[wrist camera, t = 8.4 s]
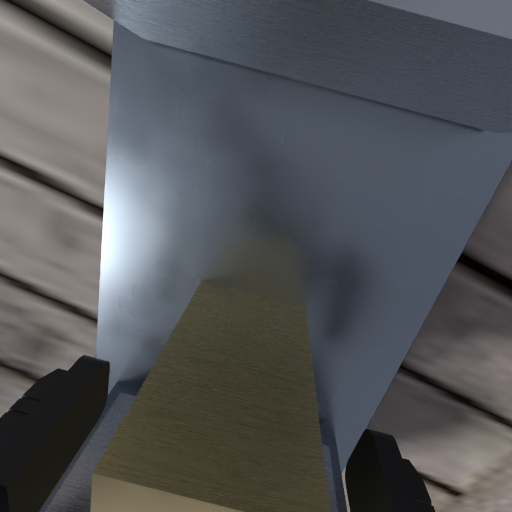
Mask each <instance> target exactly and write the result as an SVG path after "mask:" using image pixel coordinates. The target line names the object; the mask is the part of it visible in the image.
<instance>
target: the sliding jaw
mask: <svg viewBox="0 0 512 512" xmlns="http://www.w3.org/2000/svg"><path fill="white" fill-rule="evenodd" d="M84 1H85V2H87V3H88V4H90V5H91V6H93V7H95V8H96V9H98V10H99V11H101V12H102V13H104V14H105V15H107V16H109V17H110V18H112V19H113V20H115V21H116V22H118V23H119V24H121V25H123V26H124V27H126V28H127V29H129V30H130V31H132V32H133V33H135V34H137V35H138V36H140V37H141V38H143V39H146V40H149V41H153V42H157V43H161V44H164V45H168V46H172V47H176V48H179V49H183V50H187V51H191V52H194V53H198V54H202V55H206V56H209V57H213V58H217V59H221V60H224V61H228V62H232V63H236V64H239V65H243V66H247V67H251V68H254V69H258V70H262V71H266V72H269V73H273V74H277V75H281V76H284V77H288V78H292V79H296V80H299V81H303V82H307V83H311V84H314V85H318V86H322V87H326V88H329V89H333V90H337V91H341V92H344V93H348V94H352V95H355V96H359V97H363V98H367V99H370V100H374V101H378V102H382V103H385V104H389V105H393V106H397V107H400V108H404V109H408V110H412V111H415V112H419V113H423V114H427V115H430V116H434V117H438V118H442V119H445V120H449V121H453V122H457V123H460V124H464V125H468V126H472V127H475V128H479V129H483V130H487V131H490V132H494V133H512V0H84Z"/></svg>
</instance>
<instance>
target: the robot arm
mask: <svg viewBox="0 0 512 512" xmlns="http://www.w3.org/2000/svg"><path fill="white" fill-rule="evenodd" d="M109 373H110V362H109V361H106V360H102V359H98V358H94V357H90V356H86V355H83V356H82V357H80V358H79V359H78V360H77V361H76V362H75V364H74V365H73V366H72V367H71V368H70V369H69V370H68V371H66V370H62V369H56V370H55V371H53V372H51V373H49V374H48V375H46V376H44V377H42V378H41V379H39V380H38V381H37V382H36V383H35V384H34V385H33V386H32V387H31V388H30V389H29V390H28V391H27V392H26V393H25V394H24V395H23V396H22V398H21V399H19V400H18V401H17V402H16V403H15V404H14V405H13V406H12V407H11V408H10V409H9V411H8V412H7V413H5V414H4V415H3V416H2V417H1V418H0V512H39V511H40V509H41V508H42V506H43V505H44V503H45V501H46V500H47V498H48V497H49V495H50V494H51V492H52V491H53V489H54V488H55V486H56V485H57V483H58V481H59V480H60V478H61V477H62V475H63V474H64V472H65V471H66V469H67V468H68V466H69V465H70V463H71V461H72V460H73V458H74V457H75V455H76V454H77V452H78V451H79V449H80V448H81V446H82V445H83V443H84V441H85V440H86V438H87V437H88V435H89V434H90V432H91V431H92V429H93V428H94V426H95V425H96V423H97V421H98V420H99V418H100V416H101V415H102V413H103V410H104V408H105V405H106V402H107V398H108V386H109ZM345 482H346V488H347V494H348V500H349V506H350V512H435V509H434V507H433V506H432V505H431V499H430V497H429V494H428V491H427V489H426V486H425V484H424V481H423V479H422V478H421V476H420V475H419V474H418V472H417V471H416V469H415V468H414V466H413V465H412V464H411V462H410V461H409V460H407V459H403V458H402V457H401V454H400V451H399V448H398V445H397V443H396V440H395V439H394V437H393V436H392V435H388V434H384V433H381V432H377V431H373V430H369V429H366V430H364V432H363V433H362V435H361V437H360V439H359V441H358V442H357V444H356V446H355V448H354V450H353V452H352V453H351V455H350V457H349V459H348V461H347V465H346V471H345Z"/></svg>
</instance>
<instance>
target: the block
mask: <svg viewBox="0 0 512 512" xmlns="http://www.w3.org/2000/svg"><path fill="white" fill-rule="evenodd" d="M90 512H330V511H329V502H328V493H327V484H326V475H325V467H324V458H323V449H322V440H321V432H320V423H319V414H318V405H317V396H316V388H315V379H314V370H313V361H312V353H311V344H310V335H309V326H308V317H307V309H306V308H305V307H301V306H297V305H293V304H289V303H286V302H282V301H278V300H274V299H270V298H266V297H263V296H259V295H255V294H251V293H247V292H243V291H239V290H236V289H232V288H228V287H224V286H220V285H216V284H212V283H209V282H205V281H201V282H200V284H199V286H198V288H197V289H196V291H195V293H194V295H193V297H192V298H191V300H190V302H189V304H188V305H187V307H186V309H185V311H184V312H183V314H182V316H181V318H180V320H179V321H178V323H177V325H176V327H175V328H174V330H173V332H172V334H171V335H170V337H169V339H168V341H167V343H166V344H165V346H164V348H163V350H162V351H161V353H160V355H159V357H158V358H157V360H156V362H155V364H154V365H153V367H152V369H151V371H150V373H149V374H148V376H147V378H146V380H145V381H144V383H143V385H142V387H141V388H140V390H139V392H138V394H137V396H136V397H135V399H134V401H133V403H132V404H131V406H130V408H129V410H128V411H127V413H126V415H125V417H124V419H123V420H122V422H121V424H120V426H119V427H118V429H117V431H116V433H115V434H114V436H113V438H112V440H111V442H110V443H109V445H108V447H107V449H106V450H105V452H104V454H103V456H102V457H101V459H100V461H99V463H98V464H97V466H96V468H95V470H94V472H93V474H92V491H91V509H90Z"/></svg>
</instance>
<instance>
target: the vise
mask: <svg viewBox="0 0 512 512" xmlns="http://www.w3.org/2000/svg"><path fill="white" fill-rule="evenodd" d="M511 161H512V133H494V132H490V131H487V130H483V129H479V128H475V127H472V126H468V125H464V124H460V123H457V122H453V121H449V120H445V119H442V118H438V117H434V116H430V115H427V114H423V113H419V112H415V111H412V110H408V109H404V108H400V107H397V106H393V105H389V104H385V103H382V102H378V101H374V100H370V99H367V98H363V97H359V96H355V95H352V94H348V93H344V92H341V91H337V90H333V89H329V88H326V87H322V86H318V85H314V84H311V83H307V82H303V81H299V80H296V79H292V78H288V77H284V76H281V75H277V74H273V73H269V72H266V71H262V70H258V69H254V68H251V67H247V66H243V65H239V64H236V63H232V62H228V61H224V60H221V59H217V58H213V57H209V56H206V55H202V54H198V53H194V52H191V51H187V50H183V49H179V48H176V47H172V46H168V45H164V44H161V43H157V42H153V41H149V40H146V39H143V38H141V37H140V36H138V35H137V34H135V33H133V32H132V31H130V30H129V29H127V28H126V27H124V26H123V25H121V24H119V23H118V22H116V21H115V20H114V30H113V49H112V67H111V86H110V104H109V123H108V141H107V159H106V178H105V196H104V215H103V233H102V252H101V270H100V289H99V307H98V326H97V344H96V358H98V359H102V360H106V361H109V362H110V373H109V386H108V398H107V402H106V405H105V408H104V410H103V413H102V415H101V416H100V418H99V420H98V421H97V423H96V425H95V426H94V428H93V429H92V431H91V432H90V434H89V435H88V437H87V438H86V440H85V441H84V443H83V445H82V446H81V448H80V449H79V451H78V452H77V454H76V455H75V457H74V458H73V460H72V461H71V463H70V465H69V466H68V468H67V469H66V471H65V472H64V474H63V475H62V477H61V478H60V480H59V481H58V483H57V485H56V486H55V488H54V489H53V491H52V492H51V494H50V495H49V497H48V498H47V500H46V501H45V503H44V505H43V506H42V508H41V509H40V511H39V512H90V509H91V491H92V474H93V472H94V470H95V468H96V466H97V464H98V463H99V461H100V459H101V457H102V456H103V454H104V452H105V450H106V449H107V447H108V445H109V443H110V442H111V440H112V438H113V436H114V434H115V433H116V431H117V429H118V427H119V426H120V424H121V422H122V420H123V419H124V417H125V415H126V413H127V411H128V410H129V408H130V406H131V404H132V403H133V401H134V399H135V397H136V396H137V394H138V392H139V390H140V388H141V387H142V385H143V383H144V381H145V380H146V378H147V376H148V374H149V373H150V371H151V369H152V367H153V365H154V364H155V362H156V360H157V358H158V357H159V355H160V353H161V351H162V350H163V348H164V346H165V344H166V343H167V341H168V339H169V337H170V335H171V334H172V332H173V330H174V328H175V327H176V325H177V323H178V321H179V320H180V318H181V316H182V314H183V312H184V311H185V309H186V307H187V305H188V304H189V302H190V300H191V298H192V297H193V295H194V293H195V291H196V289H197V288H198V286H199V284H200V282H201V281H205V282H209V283H212V284H216V285H220V286H224V287H228V288H232V289H236V290H239V291H243V292H247V293H251V294H255V295H259V296H263V297H266V298H270V299H274V300H278V301H282V302H286V303H289V304H293V305H297V306H301V307H305V308H306V309H307V317H308V326H309V335H310V344H311V353H312V361H313V370H314V379H315V388H316V396H317V405H318V414H319V423H320V432H321V440H322V449H323V458H324V467H325V475H326V484H327V493H328V502H329V511H330V512H347V506H346V500H345V494H344V488H343V481H342V475H341V473H342V472H343V470H344V468H345V466H346V464H347V461H348V459H349V457H350V455H351V453H352V452H353V450H354V448H355V446H356V444H357V442H358V441H359V439H360V437H361V435H362V433H363V432H364V430H365V429H366V427H367V426H368V424H369V422H370V420H371V418H372V416H373V415H374V413H375V411H376V409H377V407H378V405H379V404H380V402H381V400H382V398H383V396H384V394H385V393H386V391H387V389H388V387H389V385H390V383H391V382H392V380H393V378H394V376H395V374H396V372H397V370H398V369H399V367H400V365H401V363H402V361H403V359H404V358H405V356H406V354H407V352H408V350H409V348H410V347H411V345H412V343H413V341H414V339H415V337H416V336H417V334H418V332H419V330H420V328H421V326H422V325H423V323H424V321H425V319H426V317H427V315H428V313H429V312H430V310H431V308H432V306H433V304H434V302H435V301H436V299H437V297H438V295H439V293H440V291H441V290H442V288H443V286H444V284H445V282H446V280H447V279H448V277H449V275H450V273H451V271H452V269H453V268H454V266H455V264H456V262H457V260H458V258H459V256H460V255H461V253H462V251H463V249H464V247H465V245H466V244H467V242H468V240H469V238H470V236H471V234H472V233H473V231H474V229H475V227H476V225H477V223H478V222H479V220H480V218H481V216H482V214H483V212H484V211H485V209H486V207H487V205H488V203H489V201H490V199H491V198H492V196H493V194H494V192H495V190H496V188H497V187H498V185H499V183H500V181H501V179H502V177H503V176H504V174H505V172H506V170H507V168H508V166H509V165H510V163H511Z"/></svg>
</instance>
